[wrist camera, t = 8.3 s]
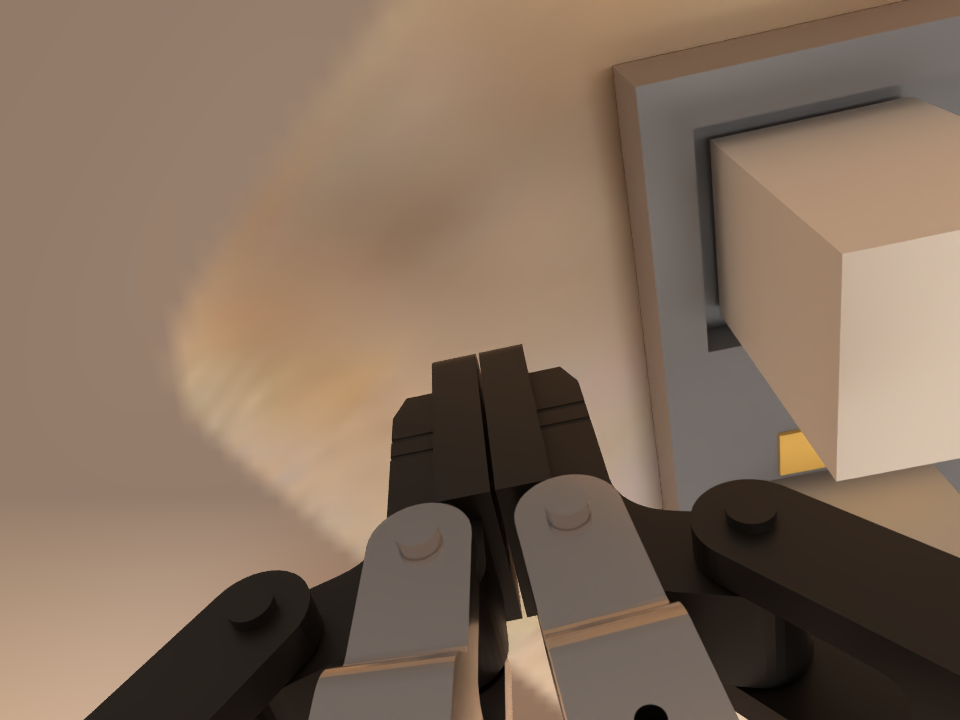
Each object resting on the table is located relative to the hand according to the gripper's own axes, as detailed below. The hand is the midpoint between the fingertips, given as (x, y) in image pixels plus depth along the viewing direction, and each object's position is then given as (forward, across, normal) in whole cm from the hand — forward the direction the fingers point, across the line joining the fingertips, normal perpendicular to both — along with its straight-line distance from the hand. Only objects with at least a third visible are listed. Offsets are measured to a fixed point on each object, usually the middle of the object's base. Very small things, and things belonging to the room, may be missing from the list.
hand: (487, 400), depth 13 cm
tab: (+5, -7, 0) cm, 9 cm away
